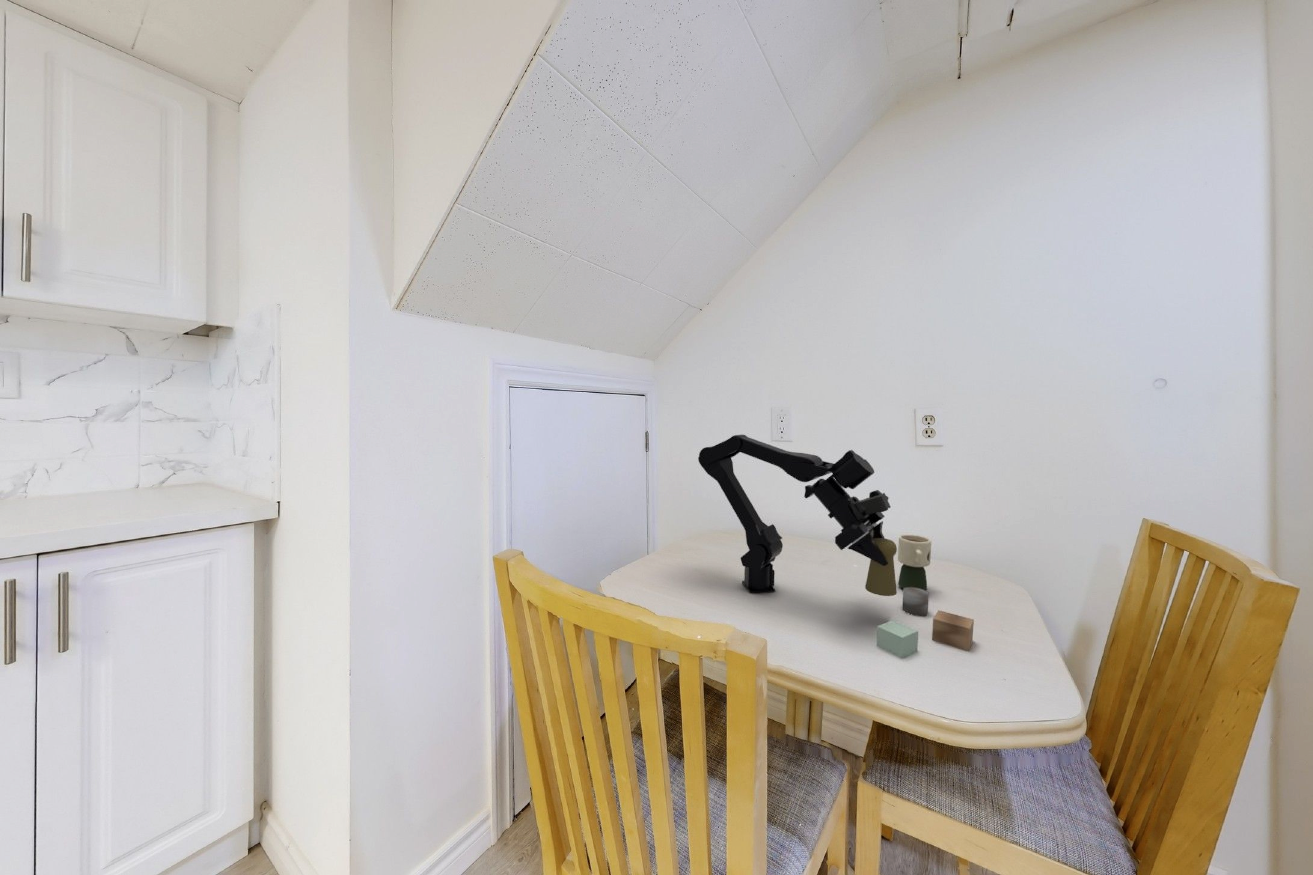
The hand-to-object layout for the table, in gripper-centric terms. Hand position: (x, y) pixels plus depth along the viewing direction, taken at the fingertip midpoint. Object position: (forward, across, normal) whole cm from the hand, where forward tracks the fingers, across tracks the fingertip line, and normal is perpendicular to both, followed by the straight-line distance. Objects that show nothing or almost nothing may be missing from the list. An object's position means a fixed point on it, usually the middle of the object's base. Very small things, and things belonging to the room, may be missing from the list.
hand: (889, 561), depth 97 cm
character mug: (+10, +23, +9) cm, 27 cm away
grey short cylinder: (+12, +10, +7) cm, 17 cm away
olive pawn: (+4, 0, +6) cm, 7 cm away
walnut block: (+18, 0, +1) cm, 18 cm away
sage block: (+12, -10, +7) cm, 17 cm away
